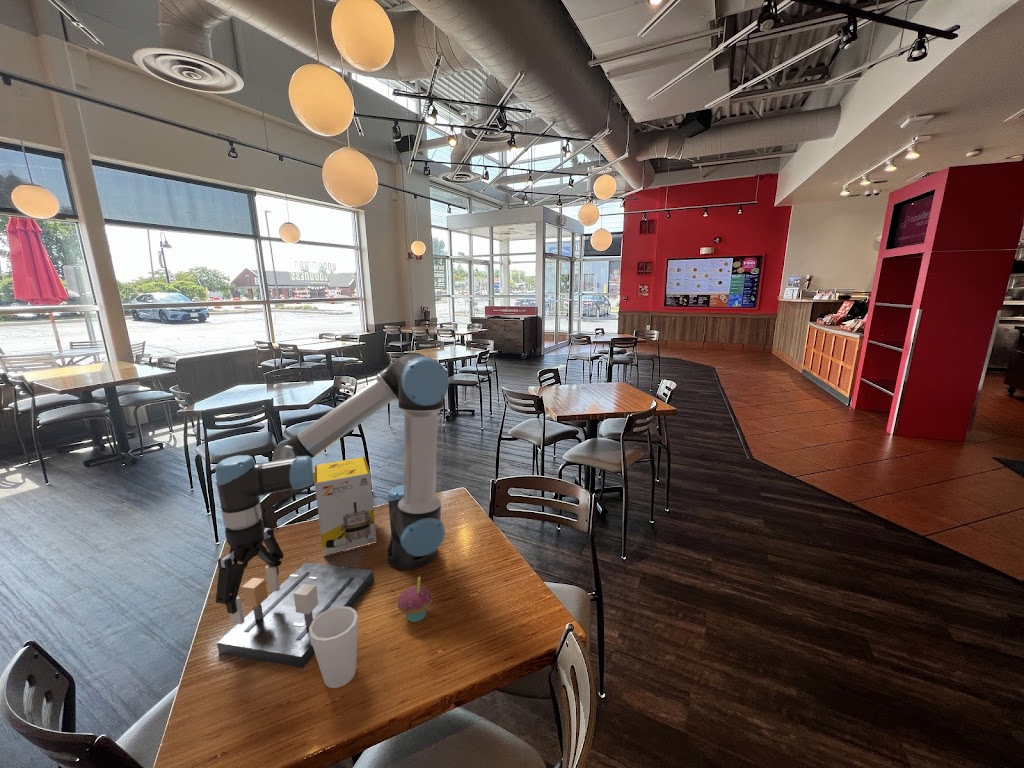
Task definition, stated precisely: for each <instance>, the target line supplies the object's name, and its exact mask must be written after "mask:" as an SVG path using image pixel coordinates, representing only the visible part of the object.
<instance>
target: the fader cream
mask: <svg viewBox="0 0 1024 768" xmlns="http://www.w3.org/2000/svg"><path fill="white" fill-rule="evenodd" d="M294 601H295V608H296V612H297V613H304V617H305V624H306V627H310V625H311V623H312V621H313V615H312V610H313V609H314V608H315V607H316V606H317V605H318V596H317V588H316V585H309V584H303V585H302V586H301V587H300V588H299V589H298V590H297V591H296V592H295V593H294Z"/></svg>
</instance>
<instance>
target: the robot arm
mask: <svg viewBox="0 0 1024 768" xmlns="http://www.w3.org/2000/svg"><path fill="white" fill-rule="evenodd" d="M448 375H449V374H448V372H447V371H446V369H445V367H444V366H443V365H442V364H441V363H440V362H439V361H437V360H436V359H435V358H432V357H430V356H426V355H424V354H421V353H418V352H409V353H407V354H404V355H402V356H399V358H397V359H396V360H394V361H393V362H392V363H391V364H389V365H388V366H385V368H384V369H383V370H381V371H380V372H378V373H377V374H376V377H375V380H373V381H372V382H369V384H368V385H366V386H364V387H363V388H362V389H360V390H359V391H357V392H356V393H354V394H353V395H351V396H350V397H349V398H347V399H346V400H344V401H343V402H341V403H339V404H338V405H337V406H336V407H334V408H333V409H331V410H330V411H329V412H326V414H324V415H323V416H322V417H320V418H319V419H317V420H316V421H314V422H313V423H311V424H310V425H309V426H307V427H306V428H304V429H302V431H300V432H298V433H297V434H295V436H293V437H291V438H288V439H284V440H282V441H280V442H279V443H278V444H277V445H276V446H275V448H274V450H273V452H272V458H271V461H266V462H257V463H256V461H255V459H254V457H252V455H249V454H248V455H247V454H246V455H242V454H240V455H234V456H229V457H226V458H224V459H222V460H220V461H219V462H217V464H216V465H215V468H214V469H215V477H216V483H215V485H216V488H217V493H218V497H219V503H220V509H221V515H222V520H223V521H222V522H223V526H224V527H225V528H224V533H225V539H226V543H227V544H228V546H229V554H227V555H226V556H224V557H221V556H220V557H219V558H218V559H217V565H218V576H217V586H216V594H215V603H216V604H221V605H225V606H226V612H227V613H228V614H230V621H231V623H232V624H236V625H237V624H243V623H244V618H245V617H244V612H243V605H242V600H241V599H242V598H241V596H238V594H239V590H240V587H241V583H242V579H243V575H244V572H245V569H246V568H247V567H248V564H249V562H250V561H252V559H253V558H255V557H256V556H257V557H259V558H260V559H261V560H262V561H263V562H264V563H266V566H265V576H266V585H267V591H272V592H274V591H279V590H280V588H279V586H280V580H279V574H280V571H279V566H281V565H282V561H281V560H283V558H284V553H283V551H282V549H281V546H280V545H279V543H278V541H277V539H276V537H275V532H274V528H270V527H269V528H268V527H265V526H264V520H263V512H262V511H263V510H262V506H261V499H260V496H267V495H270V494H271V495H272V494H276V493H282V492H287V491H293V490H300V489H303V488H306V487H311V486H312V485H314V484H315V473H314V467H313V458H315V457H317V455H318V454H320V453H322V452H323V451H324V450H326V449H327V448H329V446H332V445H333V444H334V443H335V442H337V441H338V440H340V439H341V438H342V437H344V436H345V435H347V434H349V433H350V432H351V431H353V430H354V428H356V427H358V426H359V425H361V424H362V423H363V422H364V421H366V420H367V419H369V418H371V416H373V415H375V414H376V413H377V412H379V411H380V410H382V409H383V408H384V407H386V406H387V405H388V404H390V403H391V402H393V401H395V402H398V408H399V410H401V411H402V413H403V414H404V415H403V416H404V419H403V420H404V425H403V426H404V430H403V431H404V433H403V435H404V438H403V440H404V441H403V442H404V446H403V447H404V448H403V453H404V454H403V484H401V485H397V486H394V487H392V488H391V489H390V490H389V491H388V494H387V502H388V511H389V512H388V515H389V525H390V526H389V527H390V540H389V542H388V547H387V550H386V557H387V558H386V560H387V563H388V565H389V566H390V567H392V568H394V569H397V570H403V571H405V570H407V571H408V570H416V569H418V568H421V567H424V566H426V565H427V564H429V563H431V562H432V561H433V560H434V559H435V557H436V555H437V549H438V548H440V546H441V545H442V544H443V541H444V540H445V536H446V529H445V525H444V523H443V522H442V520H441V511H442V510H441V509H442V501H441V499H440V498H439V497H438V496H436V495H437V493H436V492H437V491H436V490H437V489H436V487H437V484H436V483H437V447H438V446H437V441H438V440H437V438H438V434H437V433H438V414H439V412H440V411H441V410H442V409H443V408H444V397H445V396H446V395H447V392H448V389H449V386H450V385H449V384H450V383H449V382H450V381H449V376H448ZM263 543H264V544H265V546H266V547H265V546H264V545H263Z"/></svg>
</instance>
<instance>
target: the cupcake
mask: <svg viewBox="0 0 1024 768" xmlns="http://www.w3.org/2000/svg"><path fill="white" fill-rule="evenodd" d="M432 600H433V594H432V592H431V591H430V590H429V588H428V587H426V586H421V575H419V576H418V577H417V585H413V586H409V587H407V588H406V589H405V590H403V591H402V592H401V593H400V594H399V596H398V598H397V605H396V606H397V609H398V610H399V611H400V612H401V613H402V614H404V615H405V616H406V619H407V621H410V622H411V623H412V622H413V623H415V622H416V623H417V622H421V621H422V620H423V619H425V617H426V614H427V612H428V610H429V607H430V605H432V602H433V601H432Z"/></svg>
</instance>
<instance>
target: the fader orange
mask: <svg viewBox="0 0 1024 768" xmlns="http://www.w3.org/2000/svg"><path fill="white" fill-rule="evenodd" d="M241 592H242V597H243V604H244V605H245V606H248V607H253V608H252V609H253V610H254V616H255V620H260V619H261V618H262V617H263V612H262V606H261V603H262V602H263V601H264V600H265V599H266V598H267V597H268V596H269V595H268V588H267V581H266V579H265V578H259V577H252V578H251V579H249V580H248V581H247V582H246V583H244V585H243V584H242V586H241ZM253 610H252V611H253Z"/></svg>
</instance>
